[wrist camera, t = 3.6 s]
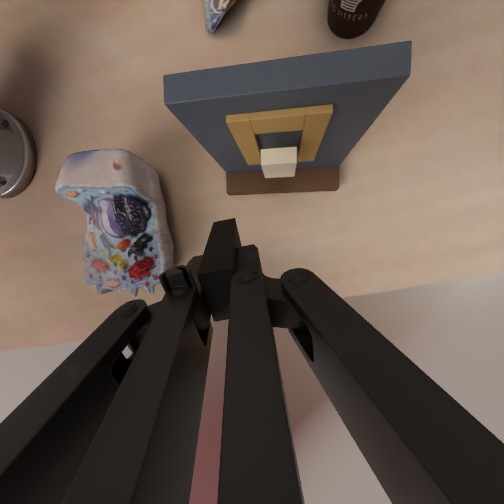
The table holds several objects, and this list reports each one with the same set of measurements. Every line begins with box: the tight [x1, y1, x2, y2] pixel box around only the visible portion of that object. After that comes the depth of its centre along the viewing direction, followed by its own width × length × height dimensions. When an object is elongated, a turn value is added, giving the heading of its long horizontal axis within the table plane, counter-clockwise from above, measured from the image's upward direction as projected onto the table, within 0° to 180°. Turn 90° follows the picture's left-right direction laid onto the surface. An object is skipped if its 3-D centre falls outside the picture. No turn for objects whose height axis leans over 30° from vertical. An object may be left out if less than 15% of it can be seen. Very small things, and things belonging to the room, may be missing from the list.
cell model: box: [55, 149, 174, 297], centre depth 30 cm, size 13×11×20 cm
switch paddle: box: [261, 147, 297, 178], centre depth 21 cm, size 1×3×4 cm, turn 91°
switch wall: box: [163, 41, 412, 195], centre depth 22 cm, size 12×16×18 cm
